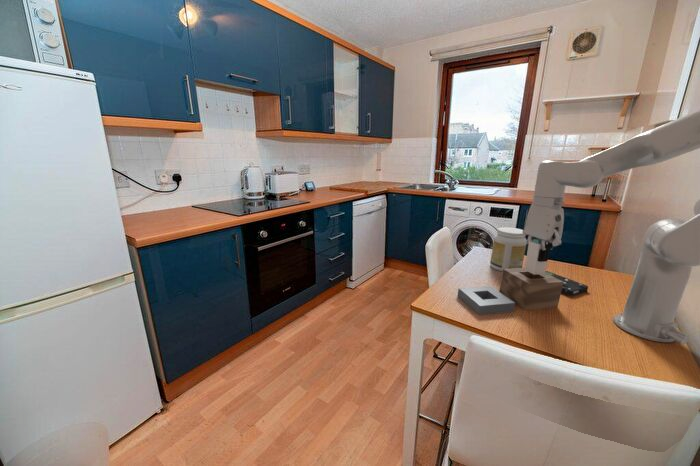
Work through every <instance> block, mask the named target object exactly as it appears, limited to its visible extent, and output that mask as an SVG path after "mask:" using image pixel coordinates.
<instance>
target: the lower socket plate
mask: <svg viewBox="0 0 700 466" xmlns="http://www.w3.org/2000/svg"><path fill="white" fill-rule="evenodd" d="M457 297H458V298H459V299H460V300H461V301H462V302H464V303H465V304H466V305H467V306H468V308H471V309H472V310H473V311H474V312H475V313H476V314H477V315H478V316H480V315H489V314H490V315H491V314H500V313H512V312H515V305H516V304H515V302H513V301H512V300H510V299H509V298H507V297H506V296H504V295H503V294H502V293H500V292H499V290H498V289H496V288H494V287H493V286H492V285H478V286H466V287H458V289H457Z"/></svg>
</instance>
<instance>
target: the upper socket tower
mask: <svg viewBox="0 0 700 466" xmlns="http://www.w3.org/2000/svg"><path fill="white" fill-rule="evenodd" d="M562 287H563V281H561V280H559V279H557V278H555V277H553V276H551V275H549V274H547V273H545V274H535V275H534V274H532V273H530V272H528V271H526V270H525V267H522V268H511V269H503V271H502V274H501V280H500V284H499V290H498V291H499V292H500V293H502V294H503V295H504V296H506V297H507V298H509V299H510V300H512V301H513V302H515V305H517V306H518V307H519V308H521V309H522V310H524V311H533V310H535V311H536V310H544V309H554V308H558V307H559V302H560V299H561V295H562V293H561V291H562Z"/></svg>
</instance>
